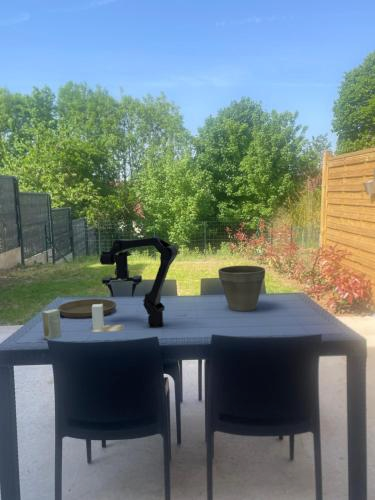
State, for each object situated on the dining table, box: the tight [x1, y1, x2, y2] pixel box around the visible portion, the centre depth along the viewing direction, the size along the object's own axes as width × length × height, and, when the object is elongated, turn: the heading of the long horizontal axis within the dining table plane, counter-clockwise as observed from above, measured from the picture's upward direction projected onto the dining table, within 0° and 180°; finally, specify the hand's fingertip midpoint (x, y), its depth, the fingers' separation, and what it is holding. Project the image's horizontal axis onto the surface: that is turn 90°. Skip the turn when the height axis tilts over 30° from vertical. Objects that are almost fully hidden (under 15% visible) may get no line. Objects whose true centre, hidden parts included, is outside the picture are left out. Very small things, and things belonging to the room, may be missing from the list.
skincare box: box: [42, 308, 62, 340], centre depth 188 cm, size 6×4×12 cm
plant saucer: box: [57, 298, 117, 319], centre depth 233 cm, size 31×31×5 cm
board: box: [91, 324, 126, 333], centre depth 199 cm, size 14×10×1 cm
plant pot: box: [218, 265, 266, 312], centre depth 231 cm, size 25×25×22 cm
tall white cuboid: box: [91, 304, 105, 330], centre depth 201 cm, size 4×6×10 cm
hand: (123, 297), depth 208 cm, fingers open, 9 cm apart
